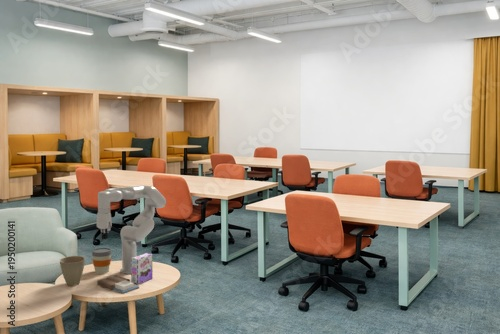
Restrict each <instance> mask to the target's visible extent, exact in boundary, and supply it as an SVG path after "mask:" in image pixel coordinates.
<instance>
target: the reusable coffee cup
mask: <svg viewBox="0 0 500 334" xmlns="http://www.w3.org/2000/svg"><path fill="white" fill-rule="evenodd" d="M91 256H92V265H93V267H94V273H95V274H98V275H101V274H103V275H104V274H108V273H109V272H110V266H111V261H112V257H111V256H112V249H111V248H109V247H99V248H94V249H93V250H92V252H91Z"/></svg>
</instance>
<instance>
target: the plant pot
mask: <svg viewBox="0 0 500 334" xmlns="http://www.w3.org/2000/svg"><path fill="white" fill-rule="evenodd" d="M85 260H86V258H85V256H81V255H70V256H65V257H62V258H61V259H59V265H60V270H61V273H62V276H63V279H64V281H65V284H66V285H67V286H70V287H75V286H77V285H79V284H80V282H81V280H82V277H83V272H84V268H85Z"/></svg>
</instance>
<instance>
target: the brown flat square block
mask: <svg viewBox="0 0 500 334" xmlns="http://www.w3.org/2000/svg"><path fill="white" fill-rule="evenodd" d="M125 280H126V281H129V282H131V278H130V279H129V278H127V277H124V276H120V275H117V274H114V275H112V276H108V277H105V278H102V279H99V280H98V279H97V281H96V282H97V284H96V285H97V286H98V287H101V288H103V289H106V290H109V291H114V290H113V288H115V283H119V282H122V281H125Z"/></svg>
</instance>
